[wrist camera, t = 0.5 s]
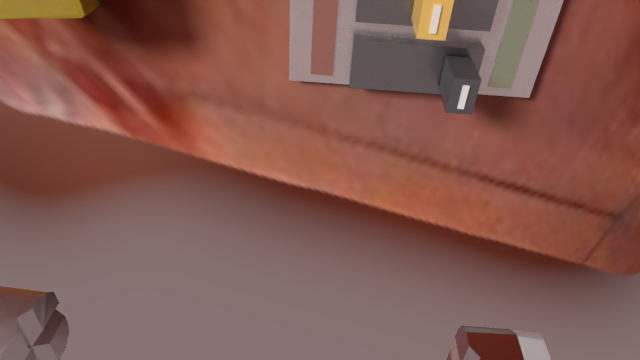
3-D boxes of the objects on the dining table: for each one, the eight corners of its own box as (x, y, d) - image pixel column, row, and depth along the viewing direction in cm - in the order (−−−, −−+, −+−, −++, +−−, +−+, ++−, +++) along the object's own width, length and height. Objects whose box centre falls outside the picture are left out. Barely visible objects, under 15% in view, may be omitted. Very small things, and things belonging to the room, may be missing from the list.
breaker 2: (445, 55, 48) (454, 79, 44) (471, 57, 48) (482, 81, 44) (438, 88, 50) (445, 113, 46) (462, 90, 50) (472, 115, 46)
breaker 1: (417, -21, 43) (424, -3, 39) (445, -19, 43) (454, -1, 39) (411, 18, 46) (416, 39, 42) (437, 20, 46) (445, 41, 41)
